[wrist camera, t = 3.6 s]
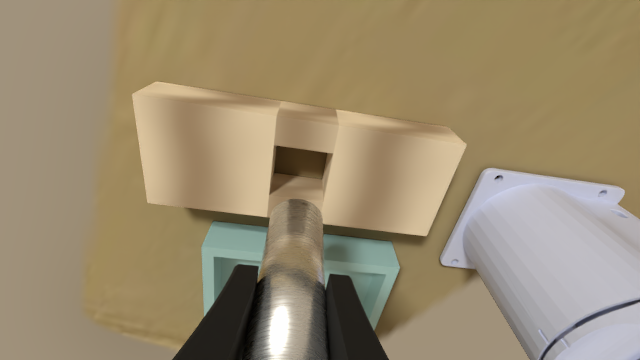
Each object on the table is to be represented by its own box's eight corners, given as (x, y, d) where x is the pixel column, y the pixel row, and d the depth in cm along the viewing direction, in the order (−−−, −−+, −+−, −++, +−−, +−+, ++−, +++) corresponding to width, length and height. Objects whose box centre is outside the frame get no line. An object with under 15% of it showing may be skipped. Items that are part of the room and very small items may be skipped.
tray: (391, 241, 22) (399, 268, 20) (353, 344, 28) (356, 372, 26) (213, 220, 21) (201, 246, 18) (214, 332, 27) (206, 361, 25)
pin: (326, 202, 12) (341, 422, 6) (318, 243, 14) (321, 466, 7) (272, 195, 12) (225, 415, 6) (268, 237, 13) (224, 462, 7)
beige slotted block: (447, 127, 18) (466, 144, 15) (414, 211, 21) (426, 236, 18) (156, 81, 16) (132, 94, 14) (166, 179, 19) (147, 202, 17)
